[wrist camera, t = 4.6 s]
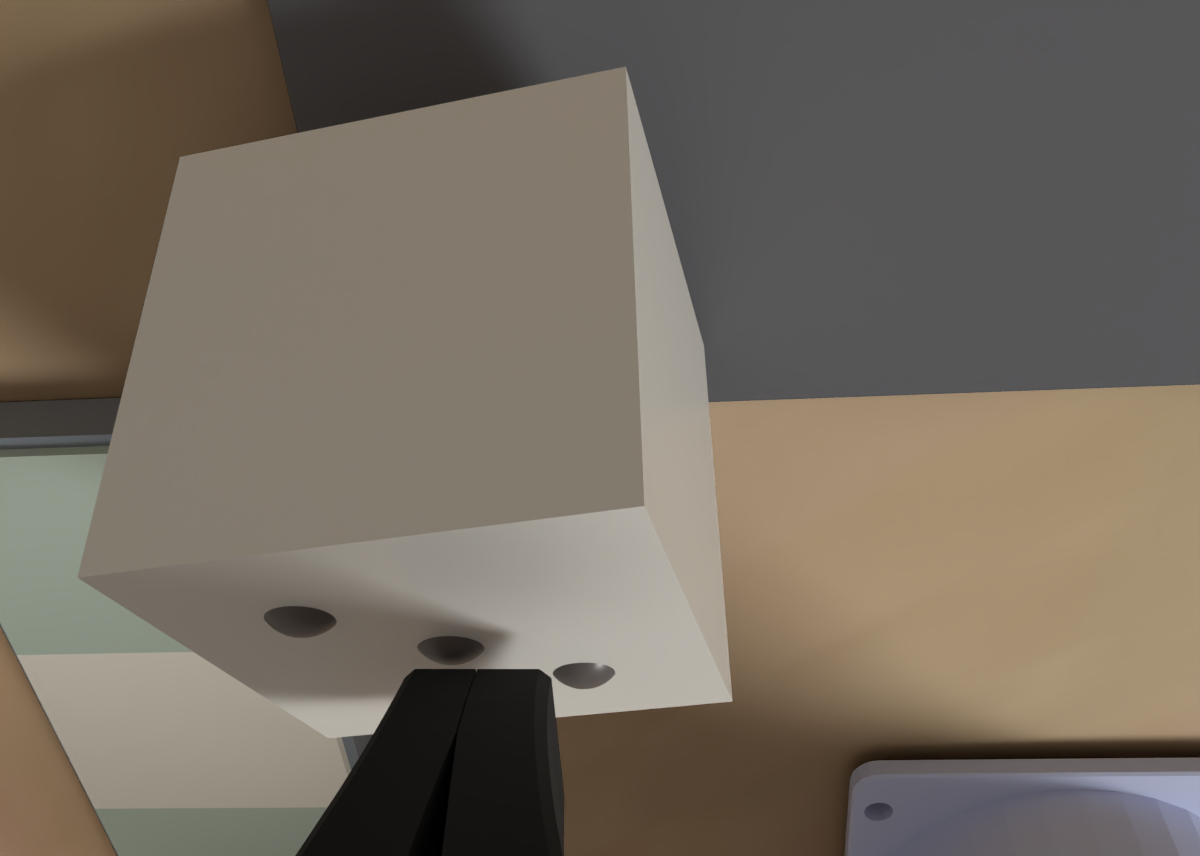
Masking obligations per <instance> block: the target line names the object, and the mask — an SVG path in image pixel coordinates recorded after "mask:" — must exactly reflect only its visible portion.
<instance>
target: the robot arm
mask: <svg viewBox="0 0 1200 856" xmlns="http://www.w3.org/2000/svg"><path fill="white" fill-rule="evenodd" d="M295 856H564V789H563V780H562V771H561V762H560V753H559V743H558V734H557V725H556V716H555V707H554V697H553V688H552V679H551V677H550V676H548V675H547V674H545V673H544V672H543V671H541V670H540V669H477V671H476V669H414V670H413V671H412V672H411V673H409V674H408V675H407V676H406V677H405V678H404V680H403V682H402V684H401V686H400V688H399V689H398V691H397V693H396V695H395V697H394V699H393V701H392V702H391V704H390V706H389V708H388V709H387V711H386V713H385V715H384V716H383V718H382V720H381V722H380V723H379V725H378V727H377V729H376V730H375V732H374V734H373V735H372V737H371V739H370V740H369V742H368V744H367V745H366V747H365V749H364V750H363V752H362V754H361V755H360V757H359V759H358V760H357V762H356V763H355V765H354V767H353V768H352V770H351V772H350V773H349V775H348V776H347V778H346V780H345V781H344V783H343V784H342V786H341V788H340V789H339V791H338V792H337V794H336V795H335V797H334V798H333V800H332V801H331V803H330V804H329V806H328V807H327V809H326V810H325V812H324V813H323V815H322V816H321V818H320V819H319V821H318V822H317V824H316V825H315V827H314V828H313V830H312V831H311V833H310V834H309V836H308V837H307V839H306V840H305V842H304V843H303V845H302V846H301V848H300V849H299V851H298V852H297V854H296V855H295ZM844 856H1200V757H1190V758H1078V759H965V760H877V761H870V762H867V763H864V764H862V765H860V766H859V767H857V768H856V769H855V770H854V771H853V772H852V775H851V777H850V785H849V799H848V813H847V827H846V841H845V855H844Z"/></svg>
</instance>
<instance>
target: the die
mask: <svg viewBox="0 0 1200 856" xmlns="http://www.w3.org/2000/svg"><path fill="white" fill-rule="evenodd" d="M77 578H79V579H80V580H82V581H83V582H85V583H86V584H88V585H90V586H91V587H93V588H94V589H96V590H97V591H99V592H100V593H102V594H104V595H105V596H107V597H108V598H110V599H111V600H113V601H115V602H116V603H118V604H119V605H121V606H122V607H124V608H126V609H127V610H129V611H130V612H132V613H133V614H135V615H136V616H138V617H140V618H141V619H143V620H144V621H146V622H147V623H149V624H151V625H152V626H154V627H155V628H157V629H158V630H160V631H161V632H163V633H165V634H166V635H168V636H169V637H171V638H172V639H174V640H176V641H177V642H179V643H180V644H182V645H183V646H185V647H186V648H188V649H190V650H191V651H193V652H194V653H196V654H197V655H199V656H201V657H202V658H204V659H205V660H207V661H208V662H210V663H211V664H213V665H215V666H216V667H218V668H219V669H221V670H222V671H224V672H226V673H227V674H229V675H230V676H232V677H233V678H235V679H237V680H238V681H240V682H241V683H243V684H244V685H246V686H247V687H249V688H251V689H252V690H254V691H255V692H257V693H258V694H260V695H262V696H263V697H265V698H266V699H268V700H269V701H271V702H272V703H274V704H276V705H277V706H279V707H280V708H282V709H283V710H285V711H287V712H288V713H290V714H291V715H293V716H294V717H296V718H297V719H299V720H301V721H302V722H304V723H305V724H307V725H308V726H310V727H312V728H313V729H315V730H316V731H318V732H319V733H321V734H323V735H324V736H326V737H327V738H338V737H349V736H360V735H371V734H374V732H375V730H376V729H377V727H378V725H379V723H380V722H381V720H382V718H383V716H384V715H385V713H386V711H387V709H388V708H389V706H390V704H391V702H392V701H393V699H394V697H395V695H396V693H397V691H398V689H399V688H400V686H401V684H402V682H403V680H404V678H405V677H406V676H407V675H408V674H409V673H411V672H412V671H413V670H414V669H476V671H477V669H540V670H541V671H543V672H544V673H545V674H547V675H548V676H550V677H551V679H552V688H553V697H554V707H555V716H556V718H557V717H568V716H579V715H590V714H601V713H612V712H623V711H634V710H645V709H656V708H667V707H678V706H689V705H700V704H711V703H722V702H733V701H732V689H731V676H730V664H729V652H728V639H727V627H726V614H725V602H724V589H723V577H722V564H721V552H720V539H719V527H718V514H717V502H716V489H715V477H714V464H713V452H712V439H711V427H710V414H709V402H708V389H707V377H706V364H705V352H704V344H703V341H702V337H701V334H700V330H699V326H698V323H697V319H696V316H695V312H694V309H693V305H692V301H691V298H690V294H689V291H688V287H687V283H686V280H685V276H684V273H683V269H682V266H681V262H680V258H679V255H678V251H677V248H676V244H675V241H674V237H673V233H672V230H671V226H670V223H669V219H668V216H667V212H666V208H665V205H664V201H663V198H662V194H661V191H660V187H659V183H658V180H657V176H656V173H655V169H654V166H653V162H652V158H651V155H650V151H649V148H648V144H647V140H646V137H645V133H644V130H643V126H642V123H641V119H640V115H639V112H638V108H637V105H636V101H635V98H634V94H633V90H632V87H631V83H630V80H629V76H628V73H627V69H626V67H621V68H616V69H611V70H606V71H601V72H596V73H591V74H587V75H582V76H577V77H572V78H567V79H562V80H557V81H552V82H547V83H542V84H537V85H532V86H527V87H522V88H518V89H513V90H508V91H503V92H498V93H493V94H488V95H483V96H478V97H473V98H468V99H463V100H458V101H453V102H448V103H444V104H439V105H434V106H429V107H424V108H419V109H414V110H409V111H404V112H399V113H394V114H389V115H384V116H379V117H374V118H370V119H365V120H360V121H355V122H350V123H345V124H340V125H335V126H330V127H325V128H320V129H315V130H310V131H305V132H300V133H296V134H291V135H286V136H281V137H276V138H271V139H266V140H261V141H256V142H251V143H246V144H241V145H236V146H231V147H227V148H222V149H217V150H212V151H207V152H202V153H197V154H192V155H187V156H182V157H180V159H179V163H178V167H177V171H176V175H175V179H174V183H173V187H172V192H171V196H170V200H169V204H168V208H167V212H166V216H165V220H164V224H163V228H162V233H161V237H160V241H159V245H158V249H157V253H156V257H155V261H154V265H153V269H152V274H151V278H150V282H149V286H148V290H147V294H146V298H145V302H144V306H143V310H142V315H141V319H140V323H139V327H138V331H137V335H136V339H135V343H134V347H133V351H132V356H131V360H130V364H129V368H128V372H127V376H126V380H125V384H124V388H123V392H122V397H121V401H120V405H119V409H118V413H117V417H116V421H115V425H114V429H113V433H112V438H111V442H110V446H109V450H108V454H107V458H106V462H105V466H104V470H103V474H102V479H101V483H100V487H99V491H98V495H97V499H96V503H95V507H94V511H93V515H92V520H91V524H90V528H89V532H88V536H87V540H86V544H85V548H84V552H83V556H82V561H81V565H80V569H79V573H78V577H77Z"/></svg>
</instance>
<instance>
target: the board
mask: <svg viewBox="0 0 1200 856" xmlns="http://www.w3.org/2000/svg"><path fill="white" fill-rule="evenodd" d="M120 401H121V398H103V399H77V400H51V401H24V402H0V626H1V628H2V630H3V632H4V634H5V636H6V638H7V640H8V642H9V644H10V646H11V648H12V650H13V652H14V654H15V656H16V658H17V660H18V662H19V663H20V665H21V667H22V669H23V671H24V673H25V675H26V677H27V679H28V681H29V683H30V685H31V687H32V689H33V691H34V693H35V695H36V697H37V699H38V701H39V703H40V705H41V707H42V709H43V711H44V713H45V715H46V717H47V718H48V720H49V722H50V724H51V726H52V728H53V730H54V732H55V734H56V736H57V738H58V740H59V742H60V744H61V746H62V748H63V750H64V752H65V754H66V756H67V758H68V760H69V762H70V764H71V766H72V768H73V770H74V772H75V773H76V775H77V777H78V779H79V781H80V783H81V785H82V787H83V789H84V791H85V793H86V795H87V797H88V799H89V801H90V803H91V805H92V807H93V809H94V811H95V813H96V815H97V817H98V819H99V821H100V823H101V825H102V827H103V828H104V830H105V832H106V834H107V836H108V838H109V840H110V842H111V844H112V846H113V848H114V850H115V852H116V854H117V856H295V855H296V854H297V852H298V851H299V849H300V848H301V846H302V845H303V843H304V842H305V840H306V839H307V837H308V836H309V834H310V833H311V831H312V830H313V828H314V827H315V825H316V824H317V822H318V821H319V819H320V818H321V816H322V815H323V813H324V812H325V810H326V809H327V807H328V806H329V804H330V803H331V801H332V800H333V798H334V797H335V795H336V794H337V792H338V791H339V789H340V788H341V786H342V784H343V783H344V781H345V780H346V778H347V776H348V775H349V773H350V772H351V770H352V768H353V767H354V765H355V763H356V762H357V760H358V759H359V757H360V755H361V754H362V752H363V750H364V749H365V747H366V745H367V744H368V742H369V740H370V739H371V737H372V735H373V734H371V735H360V736H349V737H338V738H327V737H326V736H324V735H323V734H321V733H319V732H318V731H316V730H315V729H313V728H312V727H310V726H308V725H307V724H305V723H304V722H302V721H301V720H299V719H297V718H296V717H294V716H293V715H291V714H290V713H288V712H287V711H285V710H283V709H282V708H280V707H279V706H277V705H276V704H274V703H272V702H271V701H269V700H268V699H266V698H265V697H263V696H262V695H260V694H258V693H257V692H255V691H254V690H252V689H251V688H249V687H247V686H246V685H244V684H243V683H241V682H240V681H238V680H237V679H235V678H233V677H232V676H230V675H229V674H227V673H226V672H224V671H222V670H221V669H219V668H218V667H216V666H215V665H213V664H211V663H210V662H208V661H207V660H205V659H204V658H202V657H201V656H199V655H197V654H196V653H194V652H193V651H191V650H190V649H188V648H186V647H185V646H183V645H182V644H180V643H179V642H177V641H176V640H174V639H172V638H171V637H169V636H168V635H166V634H165V633H163V632H161V631H160V630H158V629H157V628H155V627H154V626H152V625H151V624H149V623H147V622H146V621H144V620H143V619H141V618H140V617H138V616H136V615H135V614H133V613H132V612H130V611H129V610H127V609H126V608H124V607H122V606H121V605H119V604H118V603H116V602H115V601H113V600H111V599H110V598H108V597H107V596H105V595H104V594H102V593H100V592H99V591H97V590H96V589H94V588H93V587H91V586H90V585H88V584H86V583H85V582H83V581H82V580H80V579H79V578H77V577H78V573H79V569H80V565H81V561H82V556H83V552H84V548H85V544H86V540H87V536H88V532H89V528H90V524H91V520H92V515H93V511H94V507H95V503H96V499H97V495H98V491H99V487H100V483H101V479H102V474H103V470H104V466H105V462H106V458H107V454H108V450H109V446H110V442H111V438H112V433H113V429H114V425H115V421H116V417H117V413H118V409H119V405H120Z"/></svg>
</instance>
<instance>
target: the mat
mask: <svg viewBox="0 0 1200 856" xmlns="http://www.w3.org/2000/svg"><path fill="white" fill-rule="evenodd" d="M267 2H268V6H269V10H270V15H271V19H272V23H273V28H274V32H275V36H276V41H277V45H278V49H279V54H280V58H281V62H282V66H283V71H284V75H285V79H286V84H287V88H288V92H289V97H290V101H291V105H292V110H293V114H294V118H295V123H296V127H297V131H298V133H300V132H305V131H310V130H315V129H320V128H325V127H330V126H335V125H340V124H345V123H350V122H355V121H360V120H365V119H370V118H374V117H379V116H384V115H389V114H394V113H399V112H404V111H409V110H414V109H419V108H424V107H429V106H434V105H439V104H444V103H448V102H453V101H458V100H463V99H468V98H473V97H478V96H483V95H488V94H493V93H498V92H503V91H508V90H513V89H518V88H522V87H527V86H532V85H537V84H542V83H547V82H552V81H557V80H562V79H567V78H572V77H577V76H582V75H587V74H591V73H596V72H601V71H606V70H611V69H616V68H621V67H626V69H627V73H628V76H629V80H630V83H631V87H632V90H633V94H634V98H635V101H636V105H637V108H638V112H639V115H640V119H641V123H642V126H643V130H644V133H645V137H646V140H647V144H648V148H649V151H650V155H651V158H652V162H653V166H654V169H655V173H656V176H657V180H658V183H659V187H660V191H661V194H662V198H663V201H664V205H665V208H666V212H667V216H668V219H669V223H670V226H671V230H672V233H673V237H674V241H675V244H676V248H677V251H678V255H679V258H680V262H681V266H682V269H683V273H684V276H685V280H686V283H687V287H688V291H689V294H690V298H691V301H692V305H693V309H694V312H695V316H696V319H697V323H698V326H699V330H700V334H701V337H702V341H703V344H704V352H705V364H706V377H707V389H708V402H722V401H750V400H778V399H806V398H834V397H861V396H889V395H917V394H945V393H973V392H1001V391H1028V390H1056V389H1084V388H1112V387H1140V386H1168V385H1195V384H1200V0H267Z"/></svg>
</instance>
